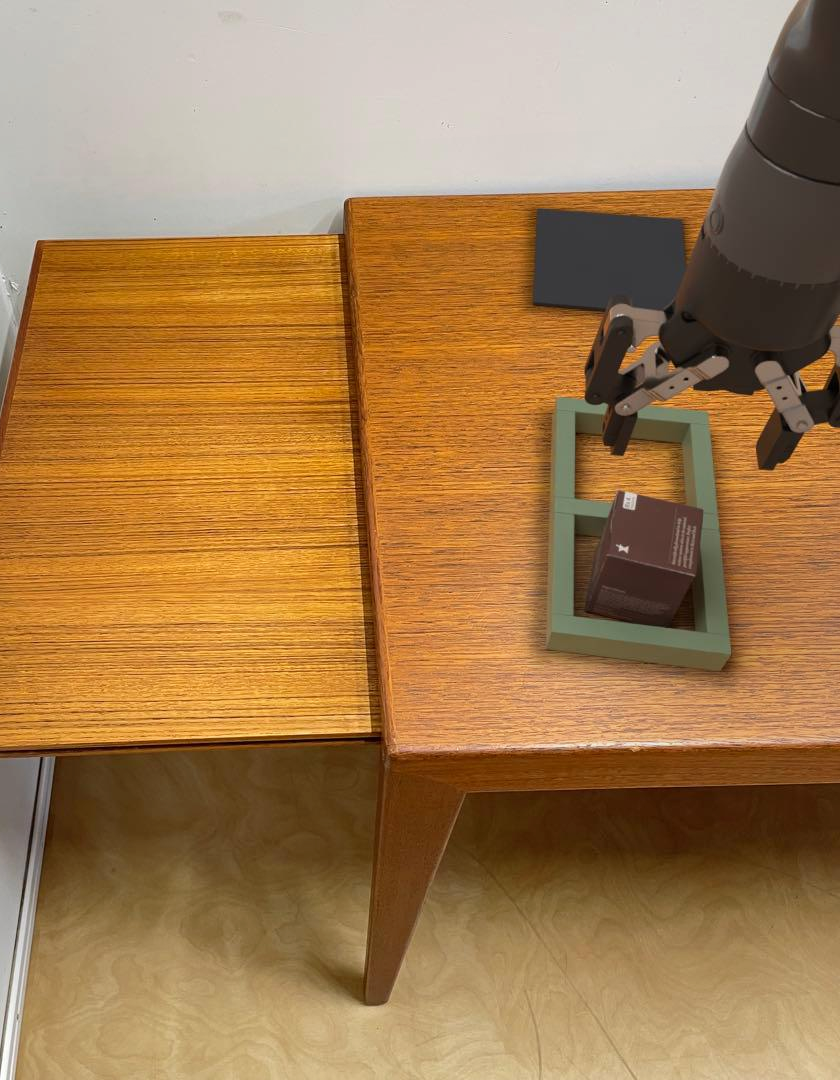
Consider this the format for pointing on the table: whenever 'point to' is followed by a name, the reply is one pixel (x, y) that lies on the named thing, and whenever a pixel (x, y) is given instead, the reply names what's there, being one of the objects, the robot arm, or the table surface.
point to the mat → (606, 259)
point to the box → (644, 559)
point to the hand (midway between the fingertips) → (688, 452)
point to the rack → (589, 518)
